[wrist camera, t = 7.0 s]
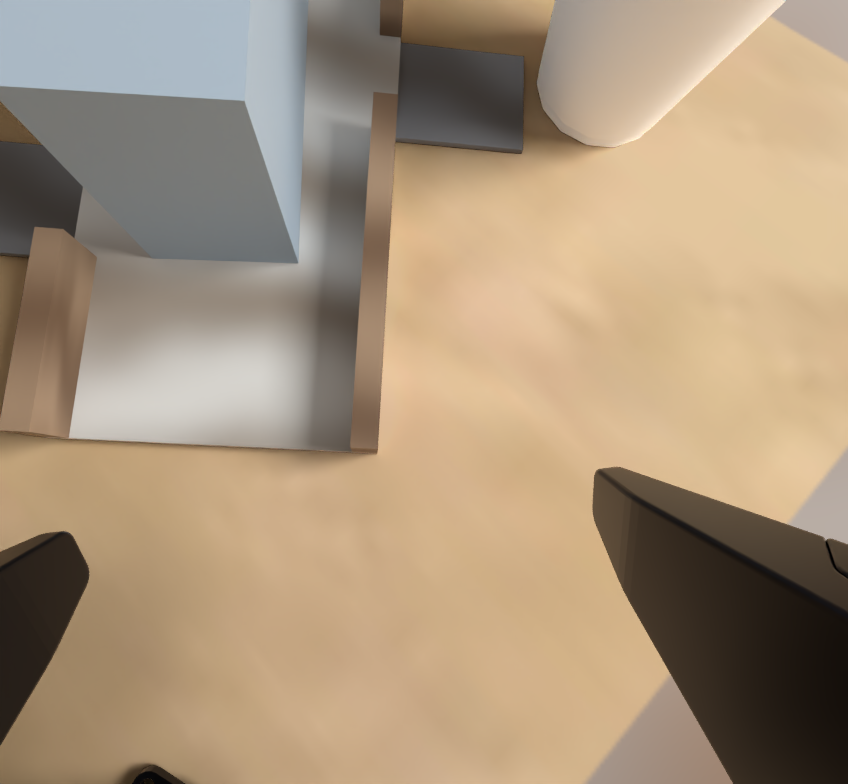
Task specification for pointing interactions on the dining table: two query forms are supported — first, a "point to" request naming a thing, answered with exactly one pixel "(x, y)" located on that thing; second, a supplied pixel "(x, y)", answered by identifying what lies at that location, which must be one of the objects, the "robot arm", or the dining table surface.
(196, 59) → the slate box
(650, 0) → the foam cup
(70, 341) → the lane
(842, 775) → the robot arm
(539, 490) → the dining table surface
